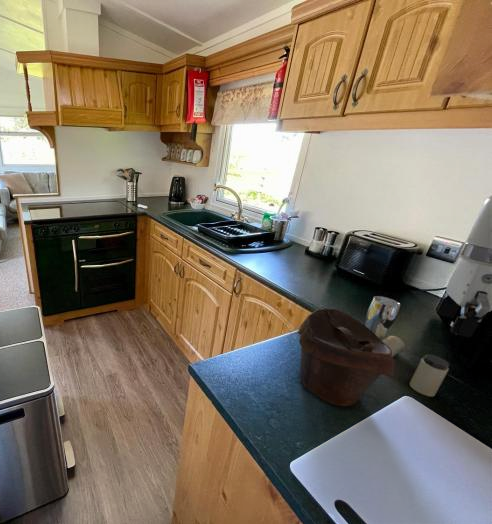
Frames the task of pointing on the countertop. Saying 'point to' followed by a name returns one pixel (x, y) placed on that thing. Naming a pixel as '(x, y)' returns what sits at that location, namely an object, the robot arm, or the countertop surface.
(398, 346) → the salt shaker
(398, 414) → the countertop surface
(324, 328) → the brown lidded pot
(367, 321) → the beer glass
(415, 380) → the pepper shaker
